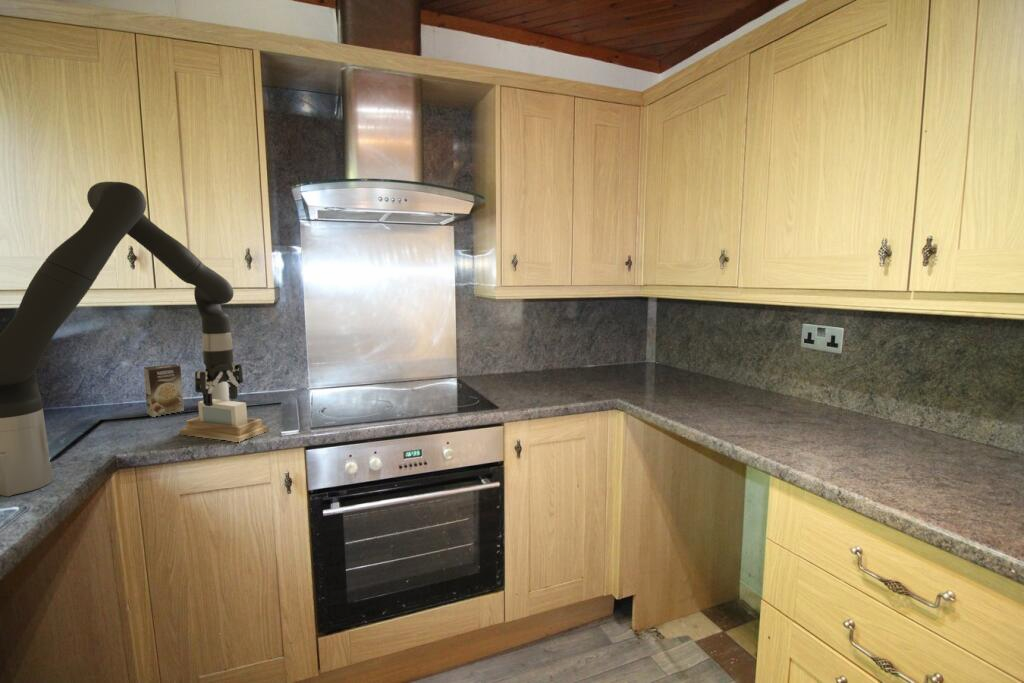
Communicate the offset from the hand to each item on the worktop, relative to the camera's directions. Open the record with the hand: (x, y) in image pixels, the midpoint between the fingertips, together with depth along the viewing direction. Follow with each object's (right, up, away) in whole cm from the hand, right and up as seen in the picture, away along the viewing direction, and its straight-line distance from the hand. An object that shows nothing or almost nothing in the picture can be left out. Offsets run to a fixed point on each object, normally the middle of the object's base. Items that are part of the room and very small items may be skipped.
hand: (221, 402), depth 145 cm
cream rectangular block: (0, -8, +1) cm, 8 cm away
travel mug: (-19, -5, +31) cm, 36 cm away
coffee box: (-31, -7, +21) cm, 38 cm away
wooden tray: (0, -9, +1) cm, 10 cm away
